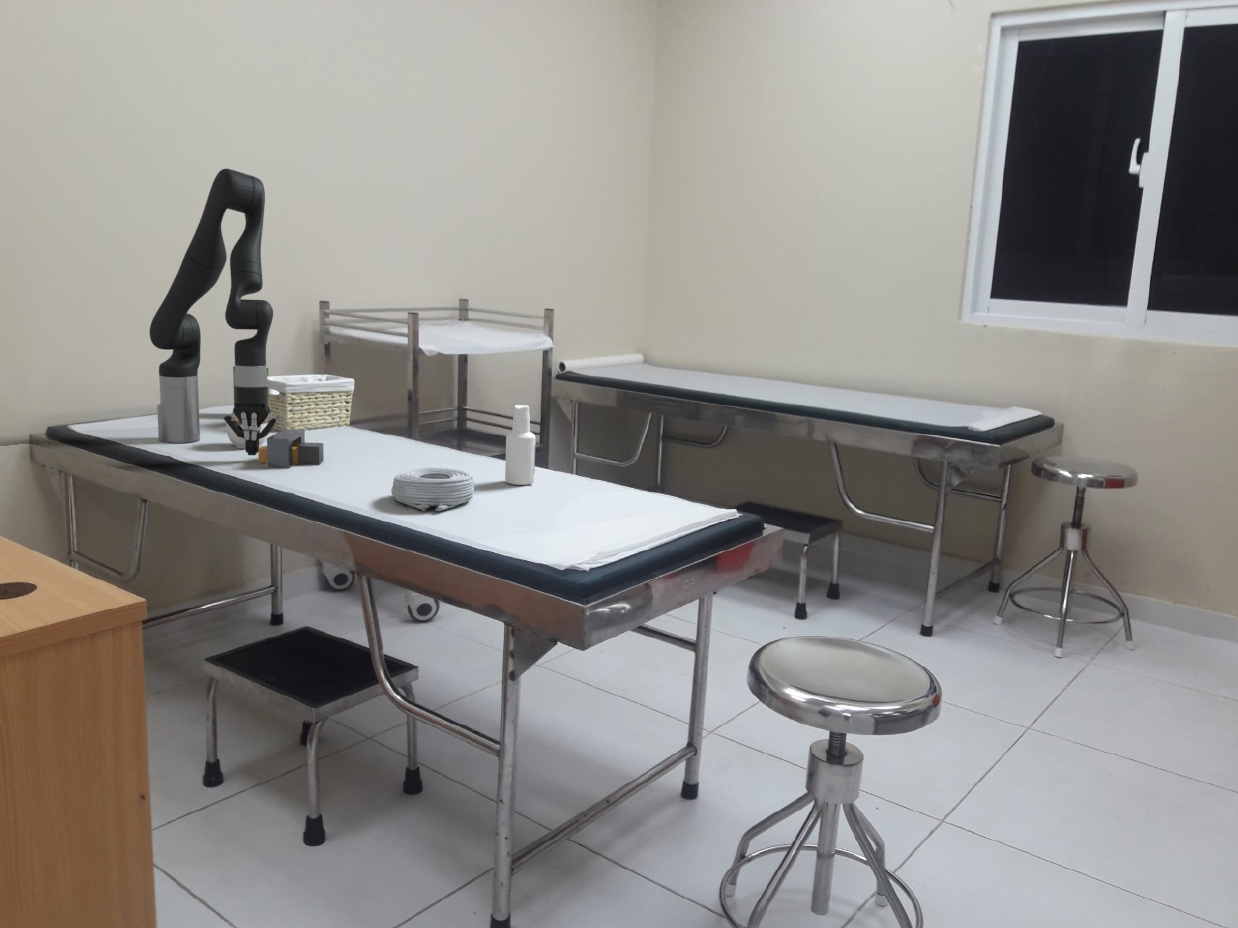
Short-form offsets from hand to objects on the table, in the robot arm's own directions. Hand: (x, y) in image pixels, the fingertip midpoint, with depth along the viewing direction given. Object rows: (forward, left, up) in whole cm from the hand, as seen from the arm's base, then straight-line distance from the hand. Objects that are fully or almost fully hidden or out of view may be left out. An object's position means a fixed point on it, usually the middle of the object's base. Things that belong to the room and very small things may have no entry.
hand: (252, 454), depth 239 cm
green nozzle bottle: (-22, +62, -2) cm, 66 cm away
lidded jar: (-7, +18, -2) cm, 20 cm away
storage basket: (-2, +52, -2) cm, 52 cm away
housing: (+8, 0, -2) cm, 8 cm away
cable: (+49, -31, -2) cm, 58 cm away
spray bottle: (+66, -11, -2) cm, 67 cm away
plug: (+14, +1, -2) cm, 14 cm away
